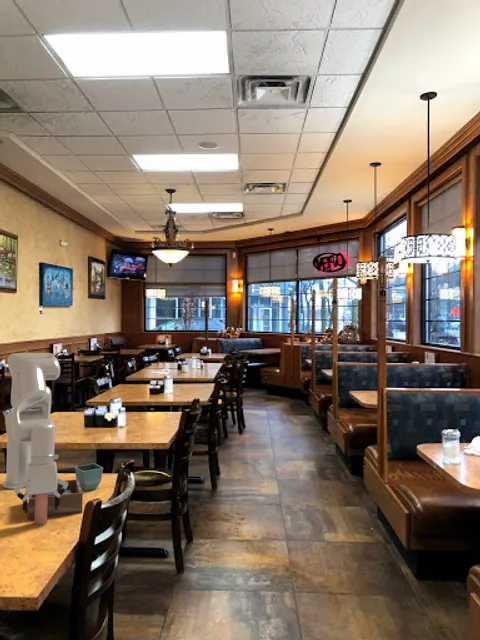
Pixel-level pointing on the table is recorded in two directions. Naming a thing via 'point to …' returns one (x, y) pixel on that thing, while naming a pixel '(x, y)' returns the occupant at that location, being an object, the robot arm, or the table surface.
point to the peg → (41, 508)
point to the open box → (61, 501)
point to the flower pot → (89, 476)
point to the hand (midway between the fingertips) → (41, 510)
